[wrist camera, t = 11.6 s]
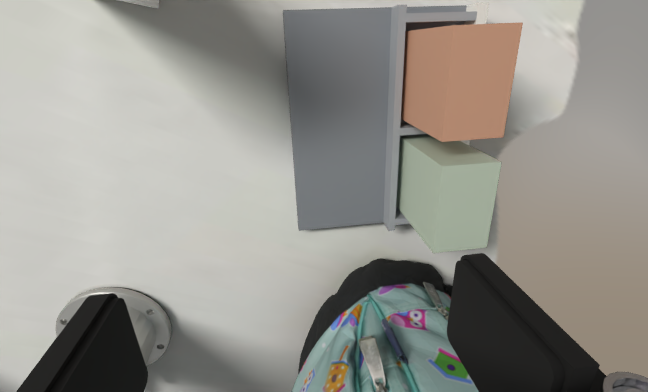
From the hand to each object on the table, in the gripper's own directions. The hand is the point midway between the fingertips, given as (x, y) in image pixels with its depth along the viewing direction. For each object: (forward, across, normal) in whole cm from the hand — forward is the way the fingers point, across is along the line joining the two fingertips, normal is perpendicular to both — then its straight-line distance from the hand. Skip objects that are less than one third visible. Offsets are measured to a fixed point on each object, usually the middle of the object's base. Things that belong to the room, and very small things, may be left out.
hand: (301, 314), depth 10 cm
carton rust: (+27, -14, -4) cm, 31 cm away
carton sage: (+27, -15, +6) cm, 31 cm away
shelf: (+28, -10, +1) cm, 30 cm away
